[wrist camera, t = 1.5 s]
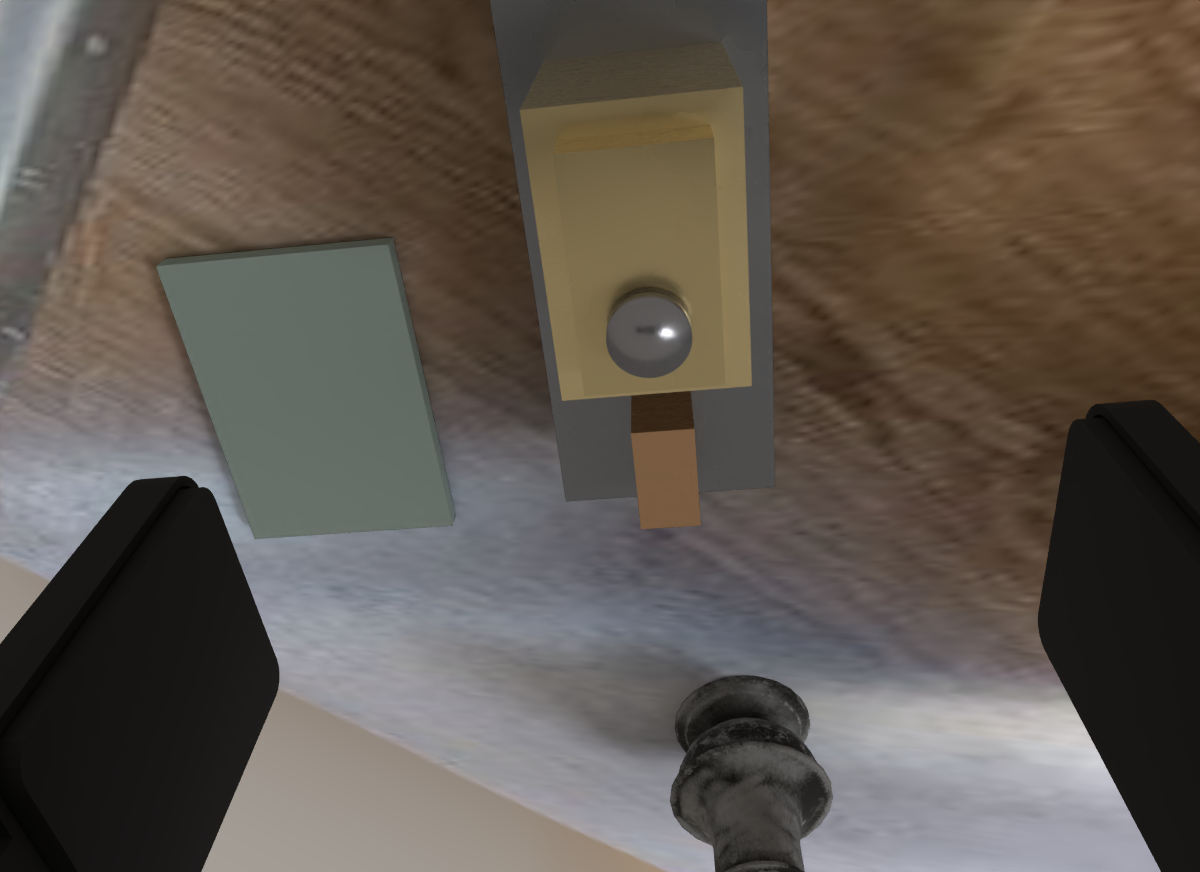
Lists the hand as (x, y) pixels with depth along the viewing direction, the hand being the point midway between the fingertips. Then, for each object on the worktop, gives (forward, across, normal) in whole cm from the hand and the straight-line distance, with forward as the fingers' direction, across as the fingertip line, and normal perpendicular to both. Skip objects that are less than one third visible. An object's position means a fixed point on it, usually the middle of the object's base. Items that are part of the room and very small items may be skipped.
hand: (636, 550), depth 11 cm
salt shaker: (+18, -2, +23) cm, 30 cm away
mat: (+18, +11, +7) cm, 22 cm away
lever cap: (+14, 0, 0) cm, 14 cm away
